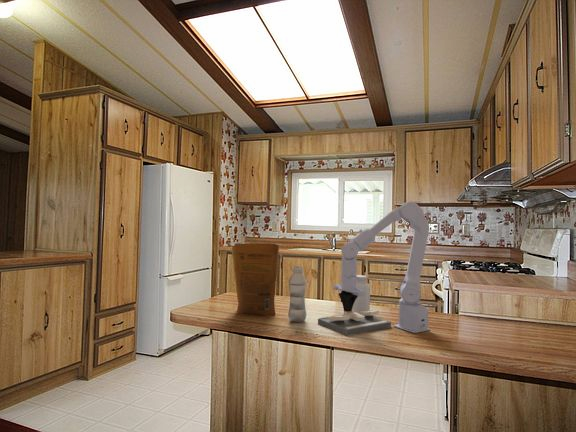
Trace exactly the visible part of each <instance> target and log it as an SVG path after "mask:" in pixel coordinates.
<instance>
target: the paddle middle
mask: <svg viewBox="0 0 576 432" xmlns="http://www.w3.org/2000/svg"><path fill="white" fill-rule="evenodd" d="M343 314H344V315H345V316H348V315H349V317H350V318H352V319H354V320H356V321H361V320H365V316H363V315H361V314H358V313H356V312H354V311H347V312H346V311H344V310H343Z"/></svg>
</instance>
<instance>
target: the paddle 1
mask: <svg viewBox="0 0 576 432" xmlns="http://www.w3.org/2000/svg"><path fill="white" fill-rule="evenodd" d="M339 315H340V314H336V315H331V316H330V315H329V316H330V317H329V316H328V317H329V320H347V319H350V317H349V315H348V316H339Z"/></svg>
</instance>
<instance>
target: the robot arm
mask: <svg viewBox="0 0 576 432" xmlns="http://www.w3.org/2000/svg"><path fill="white" fill-rule="evenodd" d="M402 220H404V221H405V222H407V223H408V224H409V225H410V227H411V228H412V229H413V234H412V235H413V236H412V241H411V246H410V250H409V252H410V253H409V256H408V263H407V268H406V274H405V275H404V279H403V282H402V283H401V285H400V286H399V294H400V295H401V298H400V299H398V323H397V324H393V327H395V328H398V329H401V330H402V331H403V330H404V331H406V332H410V333H413V334H418V333H422V332H426V331H430V328H429V310H428V308H427V307H426V305H422V304H421V303H422V302H421V296H422V293H421V289H420V287H421V274H422V269H423V263H424V258H425V252H426V248H427V243H428V237H429V231H430V225H429V222H428V220H427V218H426V216H425V214H424V210H423V209H422V207H421V206H419V205H418V204H417V203H416V202H415V201H407V202H404V203H403V204H401V205H400V206H398V207H396V208H394V209H393V210H391V211H390V212H388V213H387V214H386V215H385V216H384V217H382V218H381V219H380V220H379V221H377V223H375V224H374V225H373V226H372V227H371V228H367V227H366V228H363V229H359V230H358V233H357V234H356V235H354V237H352V238H349V239H348V241H349V242H345V243H344V245H343V246H342V247H341V255H342V256H341V263H340V265H341V266H340V267H341V268H340V284H338V283H336V284H333V290H334V291H339V293H338V297H339V299H340V301H341V304H342V309H343V312H344V311H346V312H347V311H352V307H353V304H354V302H355V300H356V298H357V297H358V296H359V297H364V291H363V290H360V289H358V288H357V275H358V261H357V256H358V253H359V252H363V251H364V250H365V249H366V248H367V247H369V246H370V245H371V244H373V243H374V242H375V241H376V235H378V234H379V233H381V232H382V231H383V230H385V229H386V228H387V227H389V226H390V225H391V224H392V223H395V222H400V221H402Z"/></svg>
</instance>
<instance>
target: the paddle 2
mask: <svg viewBox="0 0 576 432" xmlns="http://www.w3.org/2000/svg"><path fill="white" fill-rule="evenodd" d="M358 314H361V315H363V316H370V315H374V316H376V315H380V311H379V310H370V311H361V312H358Z"/></svg>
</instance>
